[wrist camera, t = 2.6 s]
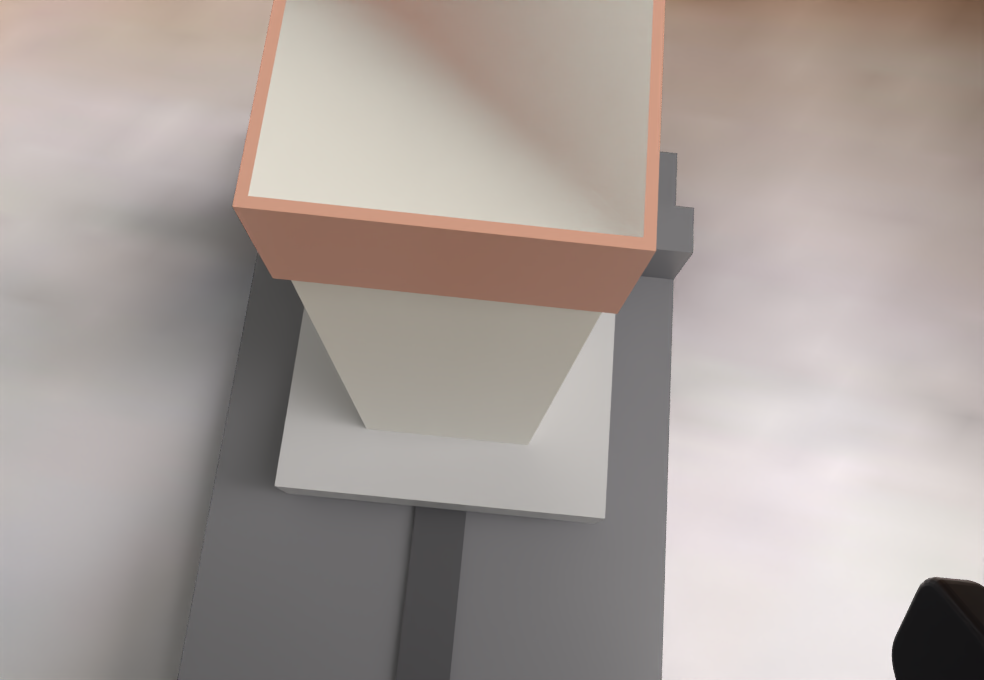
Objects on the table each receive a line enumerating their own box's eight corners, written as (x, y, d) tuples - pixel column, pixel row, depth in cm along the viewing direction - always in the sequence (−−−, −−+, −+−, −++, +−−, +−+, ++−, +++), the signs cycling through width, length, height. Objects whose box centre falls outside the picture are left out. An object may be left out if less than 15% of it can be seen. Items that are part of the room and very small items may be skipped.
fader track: (619, 1350, 14) (664, 1545, 11) (86, 1309, 14) (-9, 1498, 11) (660, 184, 20) (696, 118, 18) (295, 144, 20) (270, 71, 17)
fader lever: (593, 523, 16) (842, 410, 6) (286, 493, 16) (3, 325, 6) (606, 285, 18) (825, -134, 7) (325, 255, 18) (153, -213, 7)
